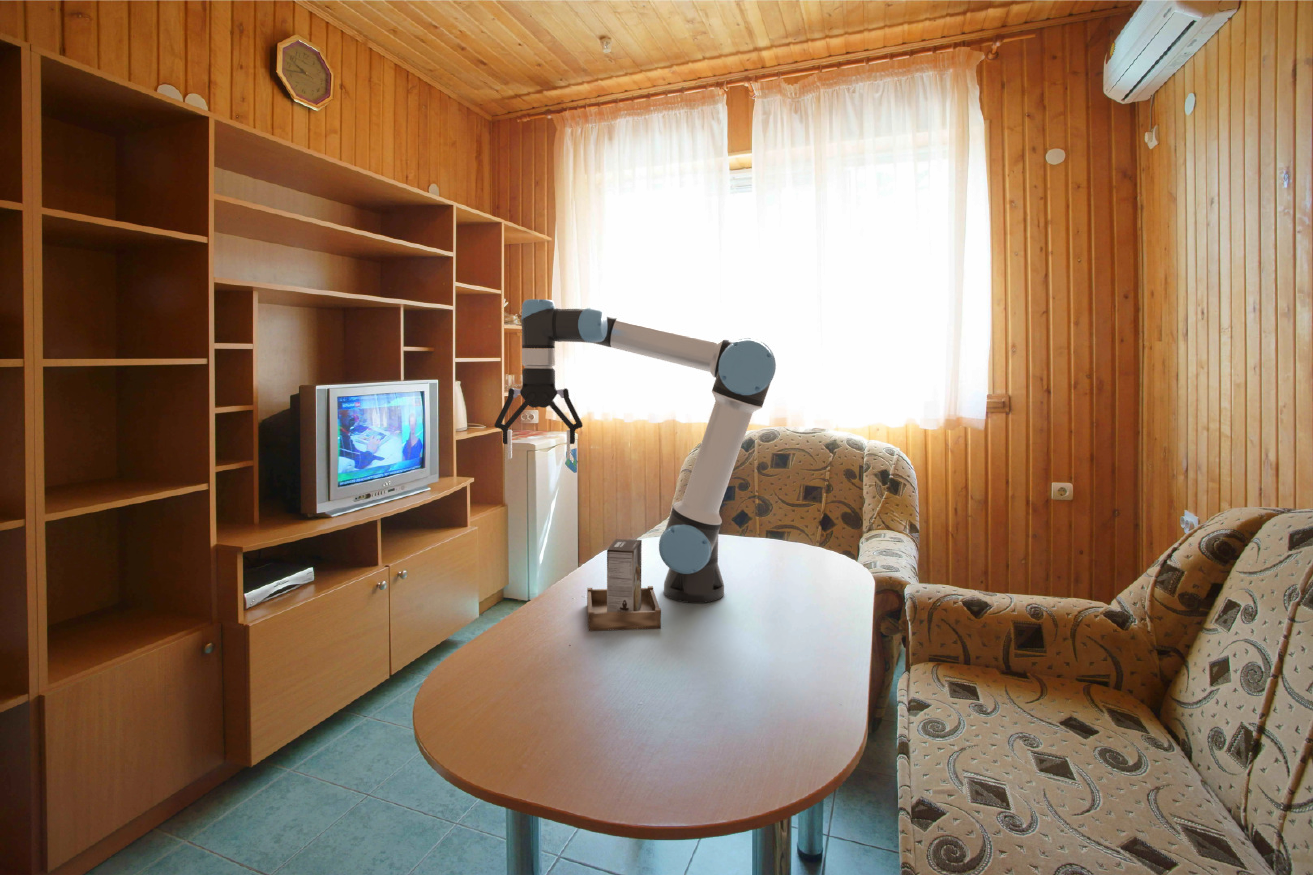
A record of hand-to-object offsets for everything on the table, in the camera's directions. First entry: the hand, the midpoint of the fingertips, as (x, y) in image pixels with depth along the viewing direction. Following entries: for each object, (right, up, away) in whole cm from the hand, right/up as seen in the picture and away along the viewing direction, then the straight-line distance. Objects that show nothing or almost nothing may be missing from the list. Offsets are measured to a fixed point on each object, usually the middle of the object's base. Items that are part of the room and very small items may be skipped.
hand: (539, 458), depth 160 cm
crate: (+20, -36, -5) cm, 41 cm away
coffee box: (+20, -35, -5) cm, 41 cm away
